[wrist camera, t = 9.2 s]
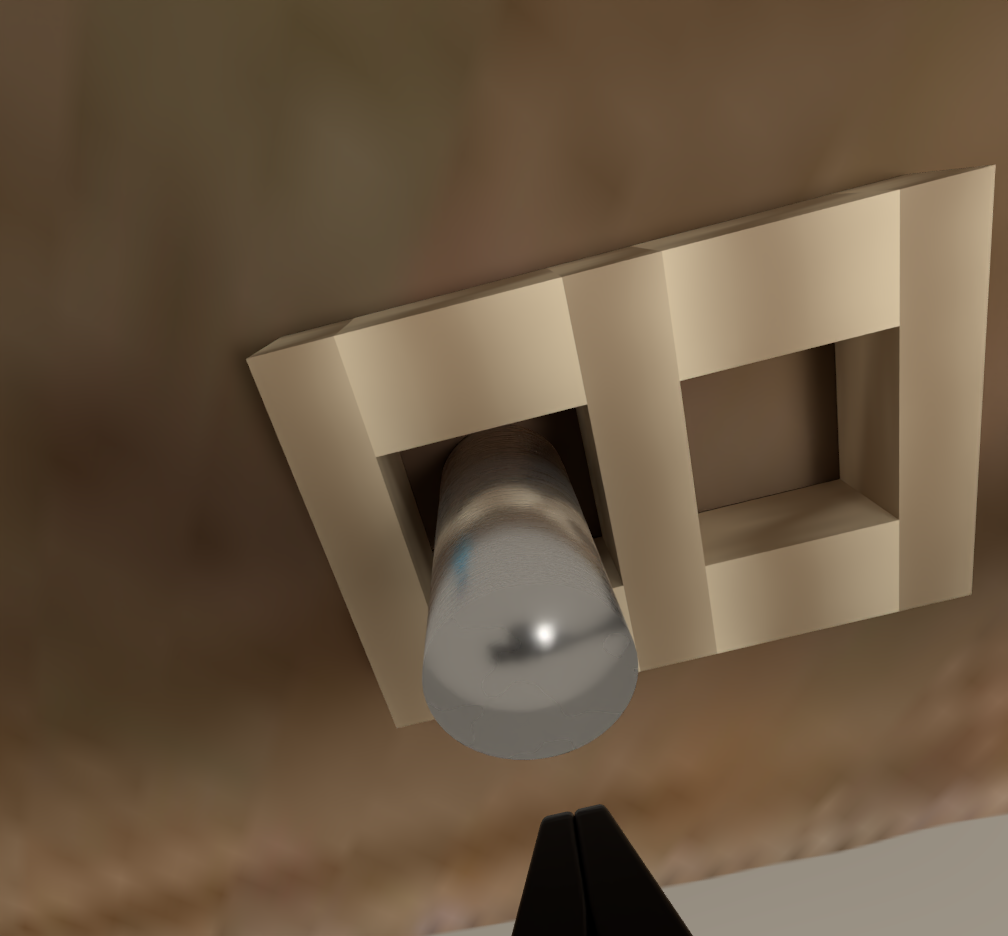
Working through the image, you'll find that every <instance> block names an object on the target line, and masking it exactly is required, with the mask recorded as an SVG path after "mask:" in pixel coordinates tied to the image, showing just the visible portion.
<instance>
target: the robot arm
mask: <svg viewBox="0 0 1008 936" xmlns="http://www.w3.org/2000/svg"><path fill="white" fill-rule="evenodd" d="M512 936H693V935H692V934H691V933H690V931H689V930H688V928H687V926H686V925H685V923H684V922H683V921H682V919H681V917H680V916H679V915H678V913H677V912H676V910H675V909H674V907H673V906H672V904H671V903H670V901H669V900H668V898H667V897H666V895H665V894H664V892H663V891H662V889H661V888H660V886H659V885H658V883H657V882H656V880H655V879H654V877H653V876H652V874H651V873H650V871H649V870H648V868H647V867H646V866H645V864H644V863H643V861H642V860H641V858H640V857H639V855H638V854H637V852H636V851H635V849H634V848H633V846H632V845H631V843H630V842H629V840H628V839H627V837H626V836H625V834H624V833H623V831H622V830H621V828H620V827H619V825H618V824H617V823H616V821H615V820H614V818H613V817H612V815H611V814H610V812H609V811H608V809H607V808H606V807H605V806H604V805H601V804H599V805H594V806H590V807H585V808H581V809H578V810H577V811H576V812H575V817H574V815H573V813H571V812H563V813H559V814H554V815H550V816H546V817H545V818H544V819H543V820H542V822H541V825H540V828H539V832H538V836H537V840H536V844H535V848H534V851H533V855H532V859H531V863H530V867H529V871H528V874H527V878H526V882H525V886H524V890H523V894H522V898H521V901H520V905H519V909H518V913H517V917H516V921H515V924H514V929H513V932H512Z"/></svg>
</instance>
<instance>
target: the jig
mask: <svg viewBox="0 0 1008 936" xmlns="http://www.w3.org/2000/svg"><path fill="white" fill-rule="evenodd" d="M994 182H995V165H988V166H978V167H969V168H959V169H950V170H940V171H931V172H922V173H912V174H906V175H902V176H899V177H895V178H891V179H887V180H883V181H879V182H875V183H872V184H868V185H864V186H860V187H856V188H852V189H849V190H845V191H841V192H837V193H833V194H829V195H825V196H822V197H818V198H814V199H810V200H806V201H802V202H799V203H795V204H791V205H787V206H783V207H779V208H775V209H772V210H768V211H764V212H760V213H756V214H752V215H749V216H745V217H741V218H737V219H733V220H729V221H725V222H722V223H718V224H714V225H710V226H706V227H702V228H699V229H695V230H691V231H687V232H683V233H679V234H675V235H672V236H668V237H664V238H660V239H656V240H652V241H649V242H645V243H641V244H637V245H633V246H629V247H625V248H622V249H618V250H614V251H610V252H606V253H602V254H599V255H595V256H591V257H587V258H583V259H579V260H575V261H572V262H568V263H564V264H560V265H556V266H552V267H549V268H545V269H541V270H537V271H533V272H529V273H525V274H522V275H518V276H514V277H510V278H506V279H502V280H499V281H495V282H491V283H487V284H483V285H479V286H475V287H472V288H468V289H464V290H460V291H456V292H452V293H449V294H445V295H441V296H437V297H433V298H429V299H425V300H422V301H418V302H414V303H410V304H406V305H402V306H399V307H395V308H391V309H387V310H383V311H379V312H376V313H372V314H368V315H364V316H360V317H356V318H352V319H349V320H345V321H341V322H337V323H333V324H329V325H326V326H322V327H318V328H314V329H310V330H306V331H302V332H299V333H295V334H291V335H287V336H283V337H280V338H279V339H277V340H275V341H274V342H272V343H271V344H269V345H267V346H266V347H264V348H263V349H261V350H259V351H258V352H256V353H255V354H253V355H251V356H250V357H248V358H247V359H246V361H247V363H248V366H249V368H250V370H251V373H252V375H253V378H254V380H255V383H256V385H257V388H258V390H259V393H260V395H261V397H262V400H263V402H264V405H265V407H266V410H267V412H268V415H269V417H270V419H271V422H272V424H273V427H274V429H275V432H276V434H277V437H278V439H279V441H280V444H281V446H282V449H283V451H284V454H285V456H286V459H287V461H288V464H289V466H290V468H291V471H292V473H293V476H294V478H295V481H296V483H297V486H298V488H299V490H300V493H301V495H302V498H303V500H304V503H305V505H306V508H307V510H308V512H309V515H310V517H311V520H312V522H313V525H314V527H315V530H316V532H317V535H318V537H319V539H320V542H321V544H322V547H323V549H324V552H325V554H326V557H327V559H328V561H329V564H330V566H331V569H332V571H333V574H334V576H335V579H336V581H337V583H338V586H339V588H340V591H341V593H342V596H343V598H344V601H345V603H346V605H347V608H348V610H349V613H350V615H351V618H352V620H353V623H354V625H355V628H356V630H357V632H358V635H359V637H360V640H361V642H362V645H363V647H364V650H365V652H366V654H367V657H368V659H369V662H370V664H371V667H372V669H373V672H374V674H375V676H376V679H377V681H378V684H379V686H380V689H381V691H382V694H383V696H384V699H385V701H386V703H387V706H388V708H389V711H390V713H391V716H392V718H393V721H394V723H395V725H396V728H400V727H404V726H409V725H413V724H417V723H422V722H426V721H430V720H434V719H435V718H434V716H433V715H432V713H431V712H430V709H429V707H428V705H427V703H426V700H425V696H424V693H423V686H422V668H423V658H424V648H425V638H426V627H427V617H428V607H429V597H430V587H431V577H432V567H433V557H434V555H433V552H432V549H431V546H430V543H429V540H428V537H427V534H426V531H425V528H424V525H423V522H422V519H421V516H420V513H419V510H418V507H417V504H416V501H415V498H414V495H413V492H412V489H411V486H410V483H409V480H408V477H407V474H406V471H405V468H404V465H403V462H402V459H401V456H400V453H399V451H403V450H407V449H411V448H415V447H419V446H423V445H427V444H431V443H435V442H439V441H443V440H447V439H450V438H454V437H458V436H462V435H466V434H470V433H474V432H478V431H482V430H486V429H490V428H494V427H498V426H502V425H506V424H510V423H514V422H518V421H522V420H526V419H530V418H534V417H538V416H542V415H546V414H550V413H554V412H558V411H562V410H566V409H570V408H574V407H576V412H577V417H578V421H579V426H580V431H581V436H582V441H583V445H584V450H585V455H586V460H587V465H588V469H589V474H590V479H591V484H592V489H593V494H594V498H595V503H596V508H597V513H598V518H599V522H600V527H601V532H602V537H598V538H594V539H593V540H594V543H595V545H596V548H597V550H598V553H599V556H600V558H601V561H602V563H603V566H604V568H605V571H606V573H607V576H608V578H609V581H610V583H611V586H612V588H613V591H614V593H615V596H616V598H617V601H618V603H619V606H620V608H621V611H622V613H623V616H624V619H625V621H626V624H627V626H628V629H629V631H630V634H631V636H632V639H633V641H634V644H635V648H636V651H637V657H638V672H641V671H645V670H649V669H654V668H658V667H662V666H666V665H671V664H675V663H679V662H684V661H688V660H692V659H697V658H701V657H705V656H709V655H714V654H718V653H722V652H727V651H731V650H735V649H740V648H744V647H748V646H752V645H757V644H761V643H765V642H770V641H774V640H778V639H782V638H787V637H791V636H795V635H800V634H804V633H808V632H813V631H817V630H821V629H825V628H830V627H834V626H838V625H843V624H847V623H851V622H856V621H860V620H864V619H868V618H873V617H877V616H881V615H886V614H890V613H894V612H898V611H903V610H907V609H911V608H916V607H920V606H924V605H929V604H933V603H937V602H941V601H946V600H950V599H954V598H959V597H963V596H967V595H972V577H973V559H974V541H975V523H976V505H977V487H978V469H979V451H980V433H981V415H982V397H983V379H984V361H985V343H986V325H987V307H988V289H989V271H990V253H991V235H992V217H993V199H994ZM834 342H835V361H836V388H837V414H838V440H839V466H840V479H838V480H834V481H829V482H825V483H821V484H817V485H813V486H809V487H805V488H801V489H796V490H792V491H788V492H784V493H780V494H776V495H772V496H767V497H763V498H759V499H755V500H751V501H747V502H743V503H739V504H734V505H730V506H726V507H722V508H718V509H714V510H710V511H706V512H701V513H698V510H697V503H696V496H695V489H694V481H693V474H692V467H691V460H690V452H689V445H688V438H687V431H686V423H685V416H684V409H683V402H682V394H681V387H680V381H682V380H686V379H690V378H694V377H698V376H702V375H706V374H710V373H714V372H718V371H722V370H726V369H730V368H734V367H738V366H742V365H746V364H750V363H754V362H758V361H762V360H766V359H770V358H774V357H778V356H782V355H786V354H790V353H794V352H798V351H802V350H806V349H810V348H814V347H818V346H822V345H826V344H830V343H834Z"/></svg>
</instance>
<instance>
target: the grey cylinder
mask: <svg viewBox="0 0 1008 936" xmlns="http://www.w3.org/2000/svg"><path fill="white" fill-rule="evenodd" d="M637 677H638V657H637V651H636V648H635V644H634V641H633V639H632V636H631V634H630V631H629V629H628V626H627V624H626V621H625V619H624V616H623V613H622V611H621V608H620V606H619V603H618V601H617V598H616V596H615V593H614V591H613V588H612V586H611V583H610V581H609V578H608V576H607V573H606V571H605V568H604V566H603V563H602V561H601V558H600V556H599V553H598V550H597V548H596V545H595V543H594V540H593V538H592V535H591V533H590V530H589V528H588V525H587V523H586V520H585V518H584V515H583V513H582V510H581V508H580V505H579V503H578V500H577V498H576V495H575V492H574V490H573V487H572V485H571V482H570V480H569V477H568V475H567V472H566V470H565V467H564V465H563V462H562V460H561V458H560V456H559V454H558V453H557V451H556V449H555V448H554V447H553V446H552V445H551V444H550V443H549V442H548V441H547V440H546V439H545V438H544V437H542V436H541V435H539V434H538V433H536V432H533V431H531V430H529V429H526V428H523V427H519V426H514V425H502V426H498V427H494V428H490V429H486V430H482V431H478V432H474V433H472V434H470V435H469V436H467V437H466V438H464V439H463V440H462V441H461V442H460V443H459V444H458V445H457V446H456V447H455V448H454V449H453V450H452V452H451V453H450V455H449V456H448V458H447V460H446V462H445V465H444V468H443V471H442V476H441V486H440V496H439V506H438V516H437V526H436V536H435V546H434V557H433V567H432V577H431V587H430V597H429V607H428V617H427V627H426V638H425V648H424V658H423V668H422V686H423V693H424V696H425V700H426V703H427V705H428V707H429V709H430V712H431V713H432V715H433V716H434V718H435V719H436V721H437V722H438V724H439V725H440V726H441V727H442V728H443V729H444V730H445V731H446V732H447V733H448V734H449V735H451V736H452V737H453V738H454V739H456V740H457V741H459V742H460V743H462V744H463V745H465V746H467V747H469V748H471V749H473V750H475V751H478V752H481V753H484V754H487V755H490V756H495V757H499V758H505V759H514V760H531V759H542V758H547V757H553V756H557V755H560V754H564V753H567V752H570V751H572V750H575V749H577V748H579V747H581V746H583V745H585V744H587V743H589V742H591V741H592V740H594V739H595V738H597V737H598V736H600V735H601V734H602V733H604V732H605V731H606V730H607V729H608V728H610V727H611V726H612V725H613V724H614V722H615V721H616V720H617V719H618V718H619V717H620V716H621V714H622V713H623V711H624V710H625V709H626V707H627V705H628V703H629V702H630V700H631V698H632V695H633V692H634V690H635V687H636V682H637Z"/></svg>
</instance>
